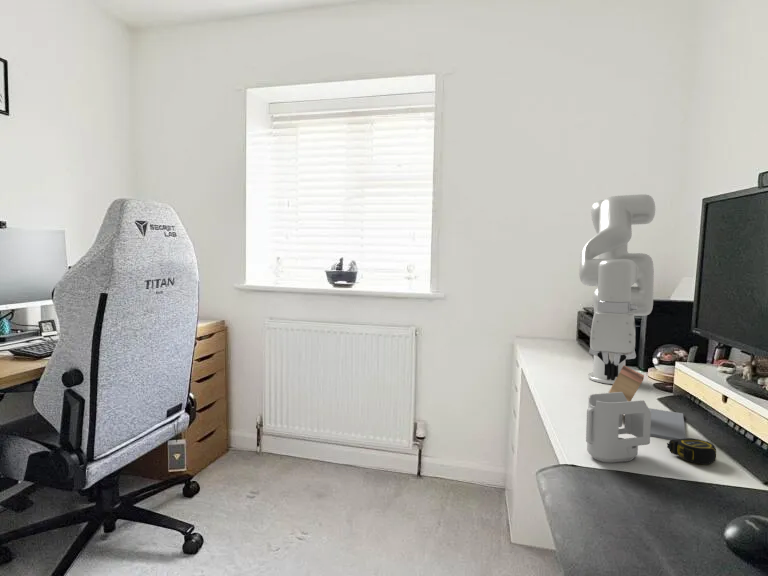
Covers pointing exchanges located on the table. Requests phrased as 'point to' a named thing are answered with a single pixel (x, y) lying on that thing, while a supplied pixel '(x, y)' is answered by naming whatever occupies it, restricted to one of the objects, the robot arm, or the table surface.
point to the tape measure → (693, 450)
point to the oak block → (627, 382)
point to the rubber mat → (667, 424)
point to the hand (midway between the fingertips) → (611, 378)
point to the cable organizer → (616, 427)
